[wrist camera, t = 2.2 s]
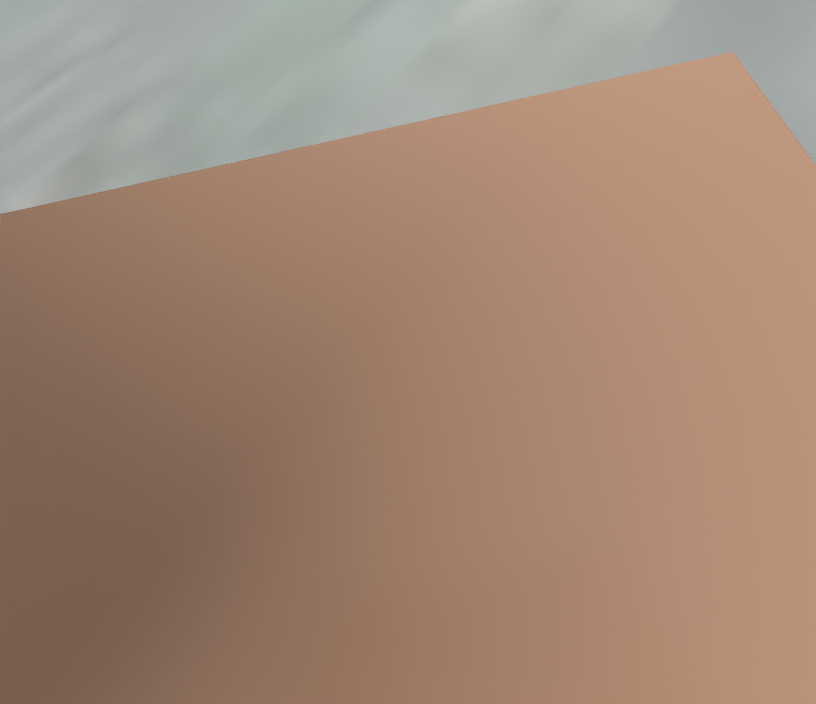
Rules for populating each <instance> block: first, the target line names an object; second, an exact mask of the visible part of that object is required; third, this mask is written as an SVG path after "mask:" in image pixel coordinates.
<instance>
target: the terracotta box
mask: <svg viewBox="0 0 816 704" xmlns="http://www.w3.org/2000/svg"><path fill="white" fill-rule="evenodd" d="M0 704H816V165H815V164H814V162H813V161H812V160H811V158H810V157H809V156H808V154H807V153H806V151H805V150H804V149H803V147H802V146H801V145H800V143H799V142H798V140H797V139H796V138H795V136H794V135H793V134H792V132H791V131H790V129H789V128H788V127H787V125H786V124H785V123H784V121H783V120H782V118H781V117H780V116H779V114H778V113H777V112H776V110H775V109H774V107H773V106H772V105H771V103H770V102H769V101H768V99H767V98H766V96H765V95H764V94H763V92H762V91H761V90H760V88H759V87H758V85H757V84H756V83H755V81H754V80H753V79H752V77H751V76H750V74H749V73H748V72H747V70H746V69H745V68H744V66H743V65H742V63H741V62H740V61H739V59H738V58H737V57H736V55H735V54H734V52H731V53H726V54H722V55H717V56H713V57H708V58H704V59H699V60H695V61H690V62H686V63H681V64H677V65H672V66H668V67H663V68H659V69H654V70H650V71H645V72H641V73H636V74H632V75H627V76H623V77H618V78H614V79H609V80H604V81H600V82H595V83H591V84H586V85H582V86H577V87H573V88H568V89H564V90H559V91H555V92H550V93H546V94H541V95H537V96H532V97H528V98H523V99H519V100H514V101H510V102H505V103H501V104H496V105H492V106H487V107H483V108H478V109H474V110H469V111H465V112H460V113H456V114H451V115H447V116H442V117H438V118H433V119H428V120H424V121H419V122H415V123H410V124H406V125H401V126H397V127H392V128H388V129H383V130H379V131H374V132H370V133H365V134H361V135H356V136H352V137H347V138H343V139H338V140H334V141H329V142H325V143H320V144H316V145H311V146H307V147H302V148H298V149H293V150H289V151H284V152H280V153H275V154H271V155H266V156H261V157H257V158H252V159H248V160H243V161H239V162H234V163H230V164H225V165H221V166H216V167H212V168H207V169H203V170H198V171H194V172H189V173H185V174H180V175H176V176H171V177H167V178H162V179H158V180H153V181H149V182H144V183H140V184H135V185H131V186H126V187H122V188H117V189H113V190H108V191H104V192H99V193H95V194H90V195H85V196H81V197H76V198H72V199H67V200H63V201H58V202H54V203H49V204H45V205H40V206H36V207H31V208H27V209H22V210H18V211H13V212H9V213H4V214H0Z"/></svg>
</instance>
